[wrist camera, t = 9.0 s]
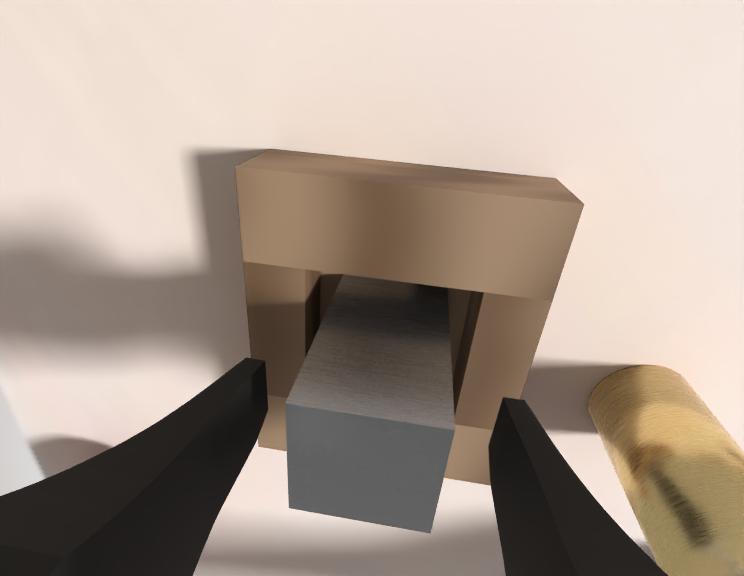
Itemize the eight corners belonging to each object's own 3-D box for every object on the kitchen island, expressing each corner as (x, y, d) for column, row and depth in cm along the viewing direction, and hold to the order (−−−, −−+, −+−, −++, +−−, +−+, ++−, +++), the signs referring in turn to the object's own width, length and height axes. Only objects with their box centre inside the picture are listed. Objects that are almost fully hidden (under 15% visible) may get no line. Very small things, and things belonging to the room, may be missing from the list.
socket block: (556, 178, 14) (584, 204, 11) (483, 429, 20) (491, 485, 17) (270, 148, 15) (235, 166, 12) (281, 398, 21) (258, 446, 18)
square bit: (447, 287, 16) (455, 430, 9) (432, 370, 17) (430, 533, 11) (343, 273, 16) (284, 403, 10) (339, 356, 18) (289, 508, 12)
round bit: (708, 372, 17) (868, 550, 11) (667, 441, 19) (781, 625, 12) (606, 358, 17) (702, 521, 11) (576, 427, 19) (643, 599, 13)
